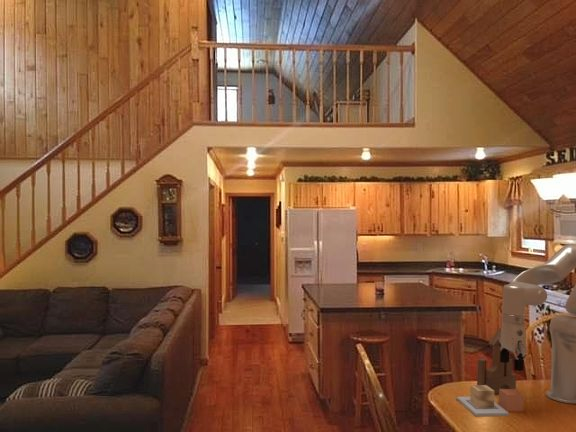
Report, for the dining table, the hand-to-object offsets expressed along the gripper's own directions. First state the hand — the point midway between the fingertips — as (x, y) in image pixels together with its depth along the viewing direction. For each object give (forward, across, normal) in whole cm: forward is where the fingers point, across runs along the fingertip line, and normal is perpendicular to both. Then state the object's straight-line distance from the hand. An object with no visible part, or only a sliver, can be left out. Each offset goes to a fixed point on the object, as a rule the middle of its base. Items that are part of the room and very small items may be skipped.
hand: (511, 366), depth 188 cm
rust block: (+15, 0, 0) cm, 15 cm away
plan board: (+15, +1, +10) cm, 18 cm away
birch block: (+14, +1, +10) cm, 17 cm away
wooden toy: (+15, +18, -4) cm, 24 cm away
